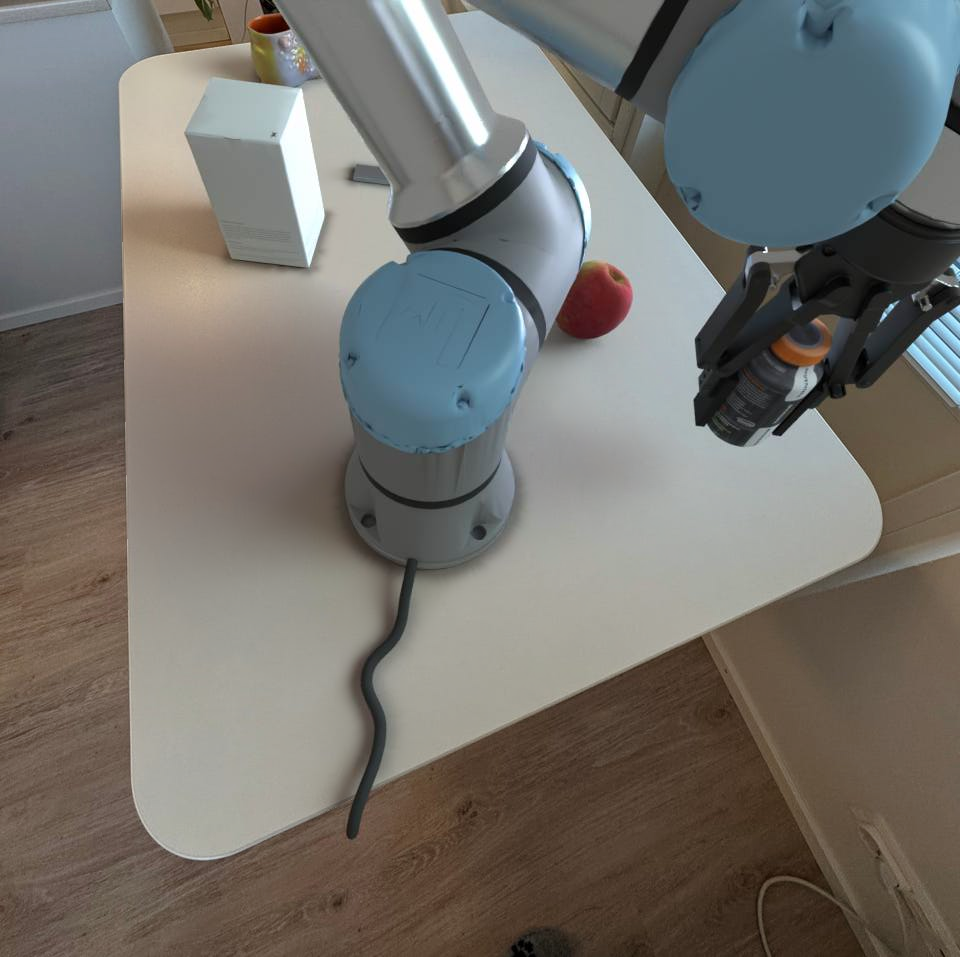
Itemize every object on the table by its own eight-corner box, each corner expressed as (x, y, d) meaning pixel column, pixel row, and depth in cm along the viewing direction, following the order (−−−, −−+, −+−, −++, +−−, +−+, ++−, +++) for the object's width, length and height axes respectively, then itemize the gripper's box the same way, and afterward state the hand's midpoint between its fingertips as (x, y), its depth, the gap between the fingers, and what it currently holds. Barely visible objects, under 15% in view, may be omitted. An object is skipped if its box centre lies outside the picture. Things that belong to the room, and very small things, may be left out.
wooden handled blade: (541, 190, 79) (543, 177, 77) (540, 204, 78) (542, 191, 76) (357, 167, 78) (355, 154, 77) (353, 181, 77) (351, 168, 75)
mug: (253, 90, 84) (239, 36, 78) (259, 60, 87) (247, 6, 81) (344, 95, 85) (338, 42, 79) (348, 65, 88) (342, 12, 82)
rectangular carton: (327, 214, 74) (305, 85, 61) (310, 270, 70) (282, 144, 57) (250, 204, 74) (210, 72, 61) (228, 259, 70) (181, 131, 56)
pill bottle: (776, 450, 53) (858, 368, 43) (708, 448, 53) (775, 364, 43) (761, 392, 56) (835, 302, 46) (696, 389, 56) (757, 298, 46)
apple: (613, 362, 67) (635, 309, 60) (539, 343, 67) (552, 288, 60) (624, 310, 70) (646, 254, 63) (554, 292, 71) (568, 235, 64)
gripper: (1074, 162, 36) (836, 395, 56) (748, 116, 35) (627, 369, 56) (1125, 257, 32) (851, 468, 53) (764, 208, 32) (629, 442, 52)
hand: (736, 417), depth 54 cm, fingers closed on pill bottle, 6 cm apart
